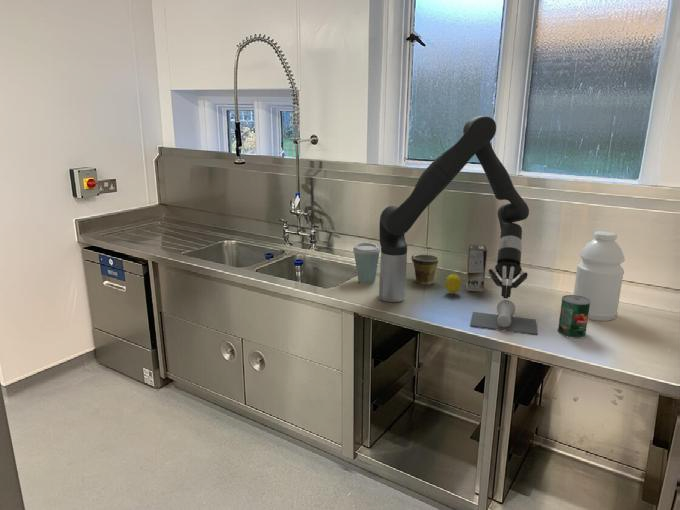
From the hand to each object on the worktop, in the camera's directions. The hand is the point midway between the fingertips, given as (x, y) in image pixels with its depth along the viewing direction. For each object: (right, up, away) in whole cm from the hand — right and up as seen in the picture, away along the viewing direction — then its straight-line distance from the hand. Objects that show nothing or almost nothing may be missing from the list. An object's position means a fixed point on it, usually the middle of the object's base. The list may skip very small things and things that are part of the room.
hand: (505, 297), depth 169 cm
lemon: (-12, -1, +24) cm, 27 cm away
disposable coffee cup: (-44, +3, +37) cm, 57 cm away
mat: (-2, -8, -3) cm, 9 cm away
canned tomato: (+17, -10, -9) cm, 22 cm away
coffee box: (-2, +1, +31) cm, 32 cm away
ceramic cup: (-21, +3, +39) cm, 44 cm away
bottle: (+32, -6, +7) cm, 33 cm away
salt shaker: (+1, -3, +3) cm, 5 cm away
